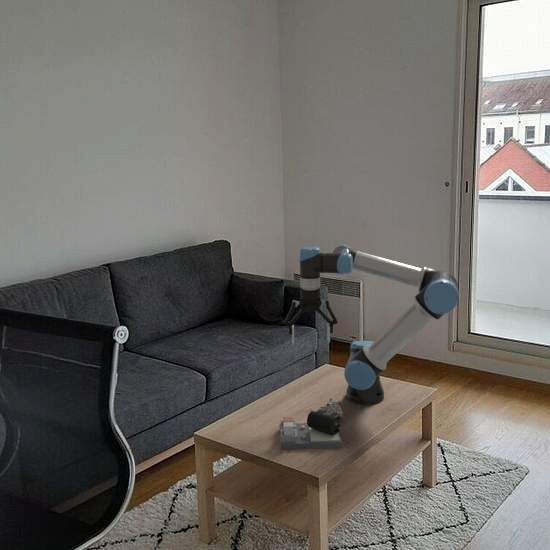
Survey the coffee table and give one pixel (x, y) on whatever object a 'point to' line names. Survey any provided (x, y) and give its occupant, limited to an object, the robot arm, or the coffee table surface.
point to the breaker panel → (308, 438)
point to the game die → (333, 408)
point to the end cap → (324, 422)
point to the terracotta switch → (287, 419)
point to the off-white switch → (288, 428)
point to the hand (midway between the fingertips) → (311, 341)
